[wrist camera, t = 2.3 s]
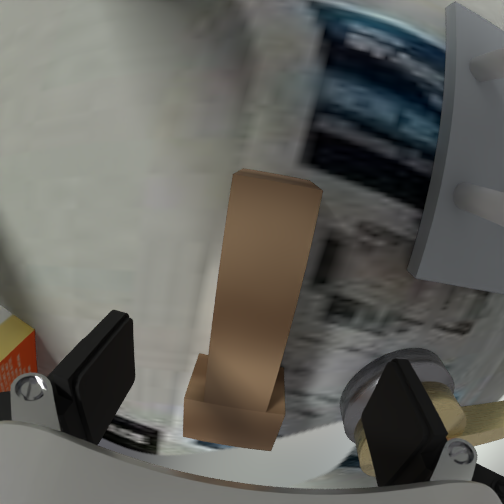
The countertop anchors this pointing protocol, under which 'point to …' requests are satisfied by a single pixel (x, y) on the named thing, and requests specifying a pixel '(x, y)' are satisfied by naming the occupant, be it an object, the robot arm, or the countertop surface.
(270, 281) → the tan wooden bar
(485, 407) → the gold lever handle
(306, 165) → the countertop surface
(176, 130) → the countertop surface
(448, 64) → the rack
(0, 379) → the orange cereal box
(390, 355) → the base
